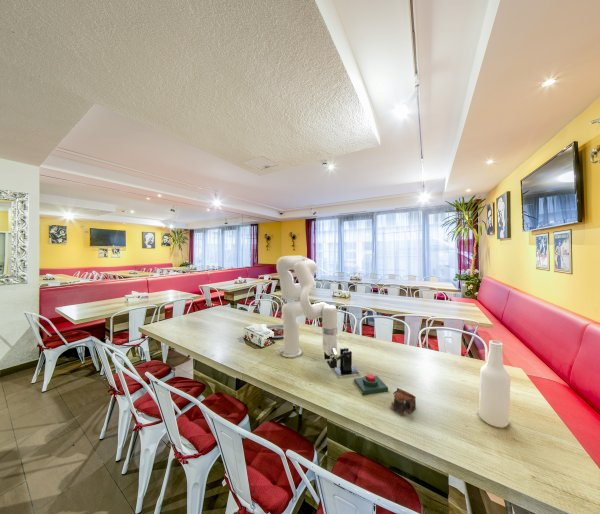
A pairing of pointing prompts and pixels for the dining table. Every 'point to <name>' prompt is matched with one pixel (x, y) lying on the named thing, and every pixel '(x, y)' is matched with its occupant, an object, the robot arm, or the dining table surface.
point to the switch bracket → (346, 363)
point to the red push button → (370, 377)
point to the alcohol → (494, 388)
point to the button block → (371, 385)
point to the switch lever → (337, 358)
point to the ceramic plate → (277, 330)
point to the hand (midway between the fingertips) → (330, 363)
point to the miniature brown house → (399, 402)
